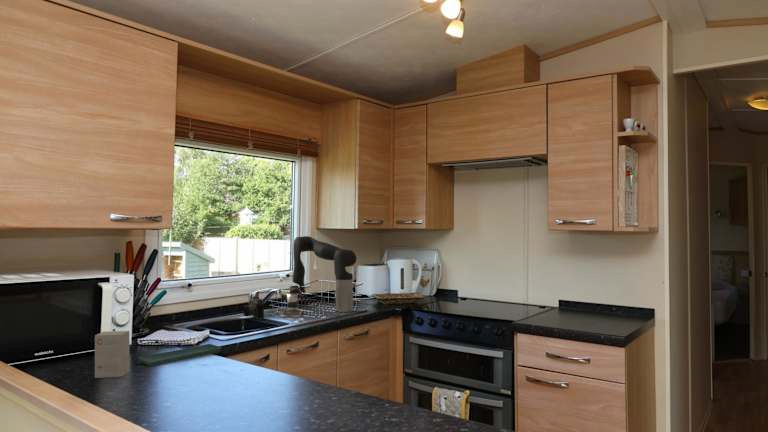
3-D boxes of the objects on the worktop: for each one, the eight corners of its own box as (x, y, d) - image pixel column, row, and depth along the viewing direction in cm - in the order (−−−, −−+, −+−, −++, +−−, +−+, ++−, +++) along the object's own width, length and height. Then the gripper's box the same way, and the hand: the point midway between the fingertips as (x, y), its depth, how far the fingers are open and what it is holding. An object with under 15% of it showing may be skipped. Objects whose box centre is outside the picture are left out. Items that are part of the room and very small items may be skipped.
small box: (130, 371, 165) (130, 330, 165) (121, 377, 158) (122, 334, 159) (103, 372, 164) (103, 331, 164) (93, 378, 158) (94, 335, 158)
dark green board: (149, 368, 170) (149, 360, 170) (138, 363, 176) (138, 356, 176) (222, 354, 189) (222, 347, 189) (209, 350, 196) (209, 343, 196)
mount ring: (300, 312, 275) (300, 309, 275) (299, 315, 266) (299, 312, 266) (283, 313, 274) (283, 310, 274) (281, 315, 265) (281, 312, 265)
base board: (301, 313, 275) (301, 312, 275) (300, 317, 265) (300, 315, 265) (282, 314, 274) (282, 312, 274) (280, 317, 264) (280, 316, 264)
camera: (240, 316, 271) (240, 296, 271) (258, 314, 275) (258, 295, 275) (246, 321, 255) (246, 300, 255) (265, 319, 259) (265, 299, 259)
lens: (297, 311, 284) (297, 292, 284) (297, 313, 278) (297, 293, 279) (287, 311, 283) (287, 292, 283) (286, 313, 278) (286, 294, 278)
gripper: (282, 288, 307) (280, 291, 291) (307, 288, 309) (306, 291, 293) (282, 301, 307) (280, 305, 291) (307, 300, 309) (306, 304, 293)
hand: (293, 298), depth 292 cm, fingers open, 8 cm apart
